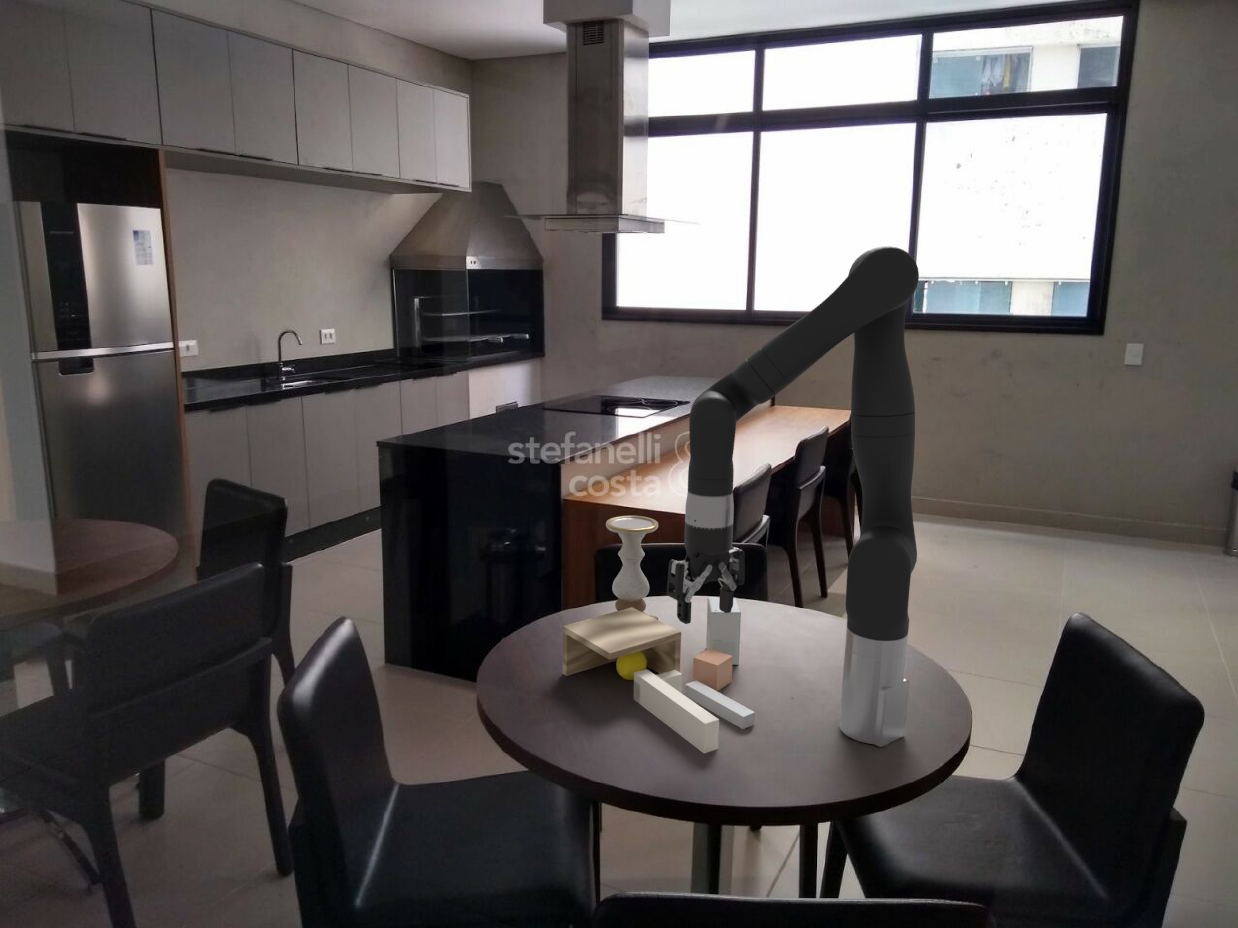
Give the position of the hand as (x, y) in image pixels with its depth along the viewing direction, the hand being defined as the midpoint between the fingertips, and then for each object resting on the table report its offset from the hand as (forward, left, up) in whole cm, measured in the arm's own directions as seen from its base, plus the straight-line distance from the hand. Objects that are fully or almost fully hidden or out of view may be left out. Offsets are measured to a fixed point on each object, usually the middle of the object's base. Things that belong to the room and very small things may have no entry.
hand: (705, 616), depth 142 cm
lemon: (+18, +1, -18) cm, 25 cm away
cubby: (+19, +2, -17) cm, 26 cm away
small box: (+15, -19, -18) cm, 30 cm away
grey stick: (0, -4, -18) cm, 18 cm away
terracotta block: (+8, -10, -17) cm, 21 cm away
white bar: (+1, +2, -17) cm, 18 cm away
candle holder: (+32, -10, -18) cm, 38 cm away
